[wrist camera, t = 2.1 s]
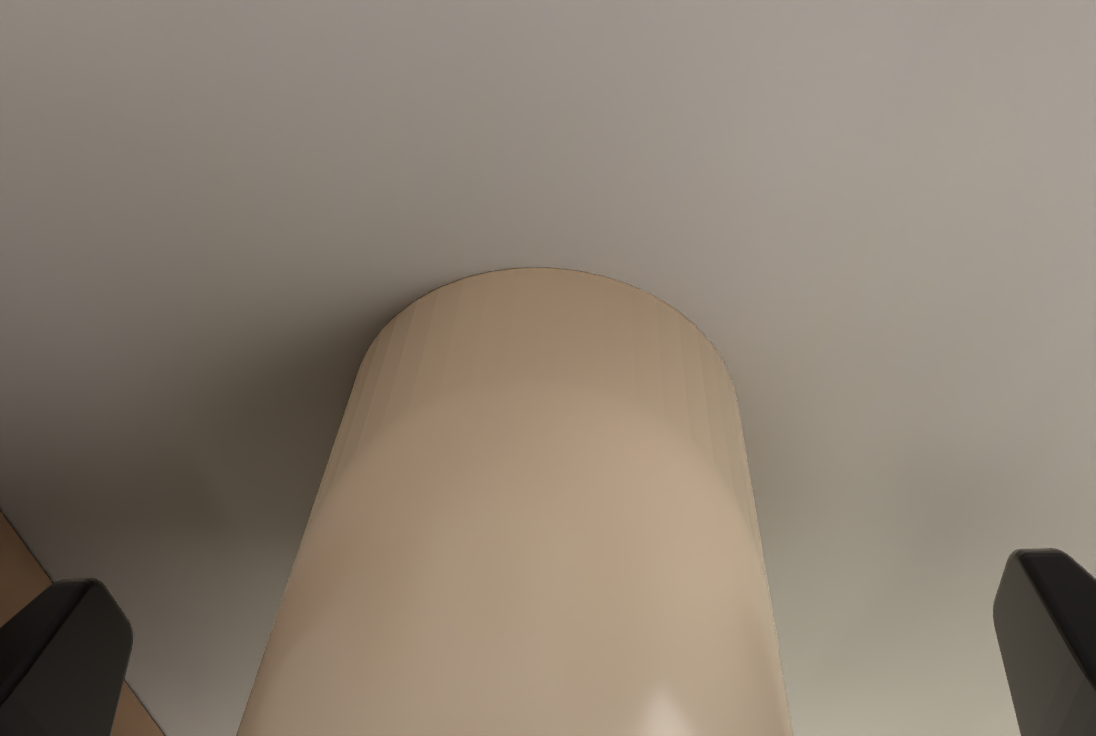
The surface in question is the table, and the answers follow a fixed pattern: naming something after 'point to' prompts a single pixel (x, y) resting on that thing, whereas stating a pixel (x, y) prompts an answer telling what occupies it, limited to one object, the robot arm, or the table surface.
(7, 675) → the robot arm
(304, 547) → the cylinder
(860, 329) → the table surface
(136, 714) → the crate
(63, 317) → the table surface
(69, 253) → the table surface
